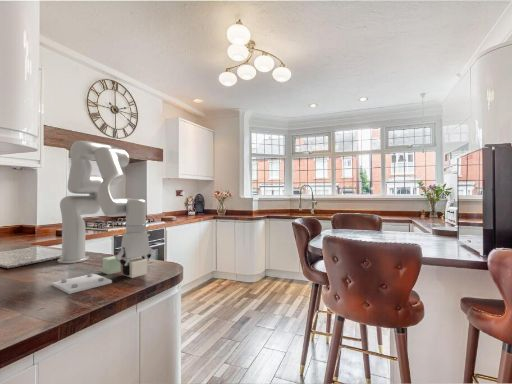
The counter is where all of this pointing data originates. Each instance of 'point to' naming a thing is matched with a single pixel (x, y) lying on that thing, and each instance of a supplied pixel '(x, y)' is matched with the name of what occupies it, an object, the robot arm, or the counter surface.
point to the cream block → (137, 267)
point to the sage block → (111, 265)
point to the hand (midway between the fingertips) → (135, 272)
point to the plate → (81, 283)
